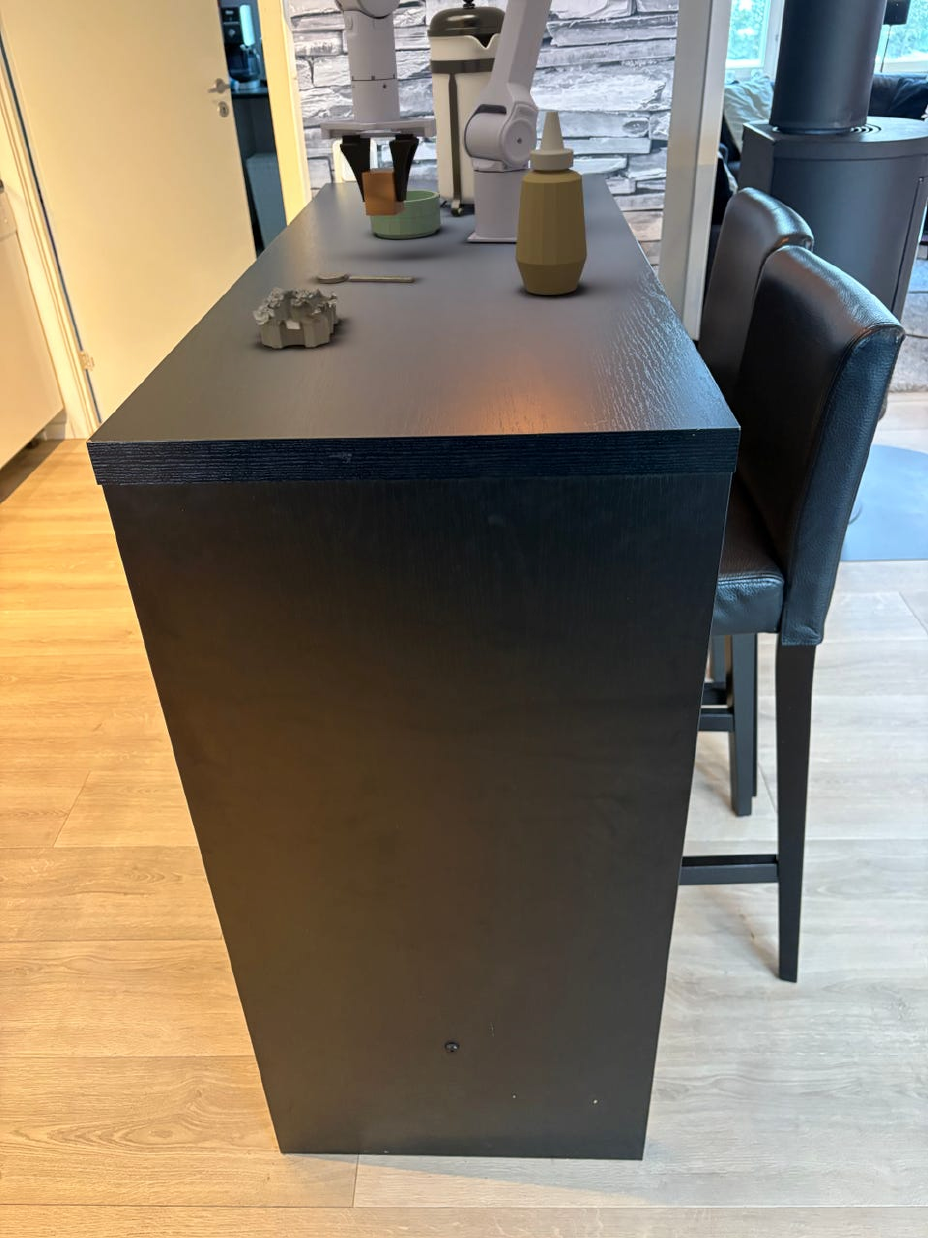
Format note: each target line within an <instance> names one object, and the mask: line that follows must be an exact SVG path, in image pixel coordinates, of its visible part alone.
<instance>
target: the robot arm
mask: <svg viewBox="0 0 928 1238" xmlns="http://www.w3.org/2000/svg"><path fill="white" fill-rule="evenodd" d="M333 1H334V4H335V6H336V8H337V10H338V11H339V12H340V13H341V15H342V18H343V22H344V23H343V24H344V30H345V39H346V48H347V49H346V50H347V60H348V70H349V80H350V91H351V100H352V112H353V118H352V119H338V120H324V121H322V122H320V123H319V125H320V126H319V127H320V133H321V135H320V136H321V140H323V141H326V140H332V139H333V140H335V139H336V140H337V139H341V143H340V144H339V149H340V152H341V154H342V155H343V157H344V159H345V160H346V161H347V164H348V165H349V168H350V169H351V171H352V174H353V176H354V178H355V181H356V184H357V186H358V189H359V193H360V196H361V200H362V203H365V198H364V188H363V177H362V173H363V172H366V171H368V170H370V169H371V145H372V143H371V142H372V139H375V138H377V139H380V138H381V139H383V138H385V139H387V138H389V139H390V138H394V139H392V140H390V141H388V146H389V151H390V156H391V160H392V168H394V176H395V193H396V199H397V202H403V201H404V200H406V195H407V190H408V185H409V180H410V179H409V178H410V173H411V170H412V165H413V162H414V159H415V156H416V153H417V150H418V148H419V145H420V138H428V139H429V138H434V137H435V136H436V135H437V129H436V118H434V117H430V118H429V117H401V107H400V92H399V80H398V79H399V78H398V65H397V53H396V51H397V49H396V42H395V41H396V38H395V37H396V36H395V26H394V25H395V24H394V23H395V22H394V12H396V11H397V9H398V8H399V5H400V3H401V0H333ZM552 2H553V0H507V4H506V8H505V11H504V12H505V17H504V21H503V25H502V30H501V34H500V39H499V43H498V48H497V52H496V56H495V61H494V65H493V70H492V74H491V79H490V82H489V84H488V85H487V86H486V87H485V88H484V89H483V91H482V92H481V93H480V94H479V95H478V96H477V98H476V100H475V104H474V108H473V110H472V113H471V114H470V116H469V117H468V119H467V120H466V122H465V124H464V127H463V131H462V144H463V148H464V150H465V152H466V154H467V155H468V156H469V157H470V158H471V164H472V167H473V169H474V170H473V173H474V201H475V204H474V226H475V231H474V232H473V233H472V234H471V235H469V236H468V237H467V242H469V243H470V242H472V243H475V242H477V243H483V242H484V243H517V233H518V221H519V208H520V195H521V183H522V178H523V177H524V176H525V175H526V174H527V173H529V172H531V171H533V170H534V169H531V168H530V167H529V163H530V152H531V151H533V150H537V149H536V148H537V145H538V131H537V121H538V117H539V112H540V111H539V108H538V106H537V104H536V102H535V101H534V99H533V97H532V95H531V90H532V86H533V81H534V78H535V73H536V69H537V66H538V61H539V57H540V53H541V48H542V44H543V41H544V36H545V32H546V27H547V24H548V21H549V20H548V19H549V16H550V12H551V7H552V4H553V3H552ZM388 130H389V131H391V132H366V131H388Z"/></svg>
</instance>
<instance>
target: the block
mask: <svg viewBox="0 0 928 1238" xmlns="http://www.w3.org/2000/svg"><path fill="white" fill-rule="evenodd" d="M362 177H363V188H364V198H365V202H364V207H365V215H366V216H370V215H397V214H398V213H400V212H401V211H403V210H404V209H405V208H404V201H403V202H397V199H396V193H395V176H394V168H393V167H372V168H370V170H368V171H366V172H363V173H362Z"/></svg>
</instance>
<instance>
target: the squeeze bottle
mask: <svg viewBox="0 0 928 1238" xmlns="http://www.w3.org/2000/svg"><path fill="white" fill-rule="evenodd" d="M564 144H565V143H564V139H563V134H562V127H561V122H560V117H559V111H557V110H550V111H546V112H545V117H544V124H543V129H542V133H541V140H540V145H539V148H537V149H535V150H533V151H531V152H530V161H529V168H531V169H534V170H533V171H531V172H529V173H527V174H526V175H525V176H524V177H523V178H522V183H521V195H520V208H519V221H518V233H517V242H516V247H515V262H516V265H517V267H518V271H519V273H520V277H521V280H522V283H523V286H524V290H525V291H527V292H528V293H531V294H535V295H544V296H556V295H557V296H558V295H563V294H568V293H571V292H574V291H576V290H577V288H578V285H579V282H580V279H581V276H582V273H583V270H584V268H585V267H584V266H585V264H586V261H587V259H588V246H587V233H586V219H585V218H586V217H585V205H584V204H585V202H584V190H583V189H584V188H583V176H582V175H581V174H580V173H579V172H578V171H576V170H574V169H571V168H573V167H574V161H575V160H574V158H575V155H574V153H575V149H572V148H567V147H565V145H564Z"/></svg>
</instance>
